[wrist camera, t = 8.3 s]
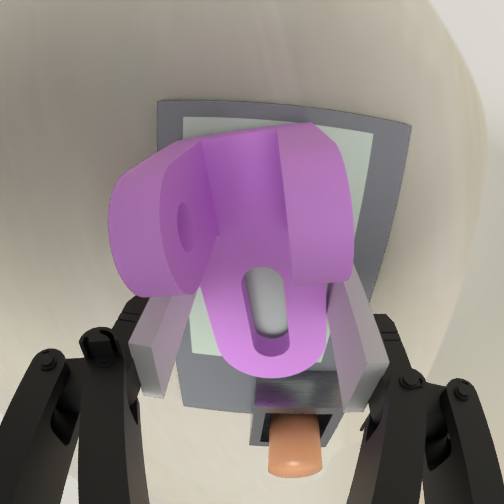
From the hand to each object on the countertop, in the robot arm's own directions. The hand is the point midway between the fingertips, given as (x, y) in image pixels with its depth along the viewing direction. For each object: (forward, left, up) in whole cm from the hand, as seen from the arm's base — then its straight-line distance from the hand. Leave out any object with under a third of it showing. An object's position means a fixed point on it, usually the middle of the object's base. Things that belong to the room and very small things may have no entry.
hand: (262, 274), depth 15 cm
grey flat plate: (+3, 0, -1) cm, 3 cm away
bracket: (0, 0, -1) cm, 1 cm away
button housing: (+10, +3, -1) cm, 11 cm away
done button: (+10, +3, +1) cm, 11 cm away
